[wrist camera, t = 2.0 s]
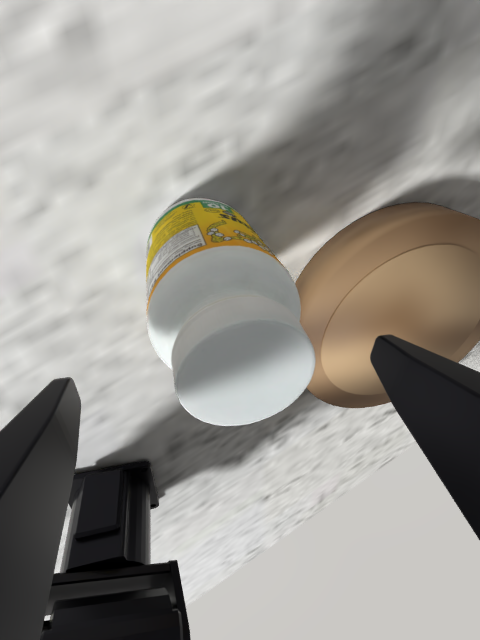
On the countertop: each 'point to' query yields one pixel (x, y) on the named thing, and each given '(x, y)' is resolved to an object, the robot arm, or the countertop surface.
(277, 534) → the countertop surface
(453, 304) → the plate
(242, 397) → the supplement bottle
